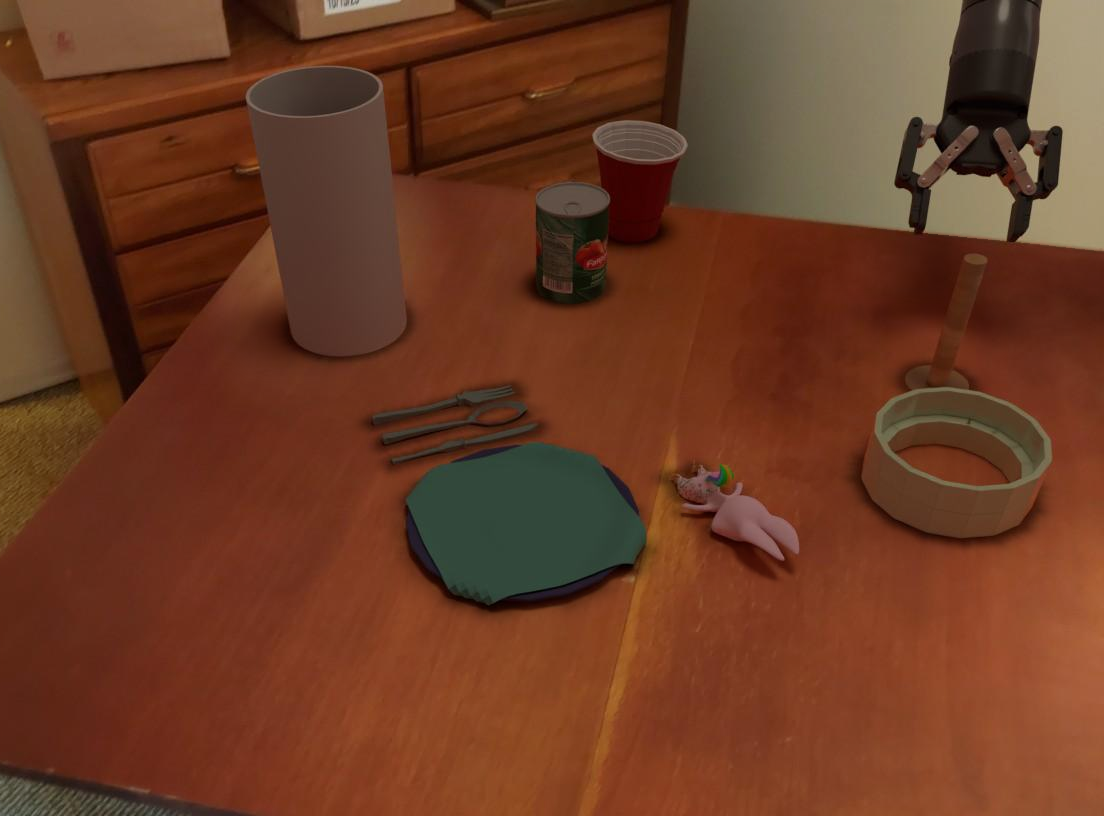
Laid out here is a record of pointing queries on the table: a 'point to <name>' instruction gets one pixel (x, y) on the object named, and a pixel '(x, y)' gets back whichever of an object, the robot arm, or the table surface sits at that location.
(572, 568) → the cutlery set
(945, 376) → the wooden peg on disc
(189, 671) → the table surface
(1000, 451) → the ring
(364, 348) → the cylinder vase
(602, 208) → the canned tomato
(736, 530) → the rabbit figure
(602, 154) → the plastic cup
